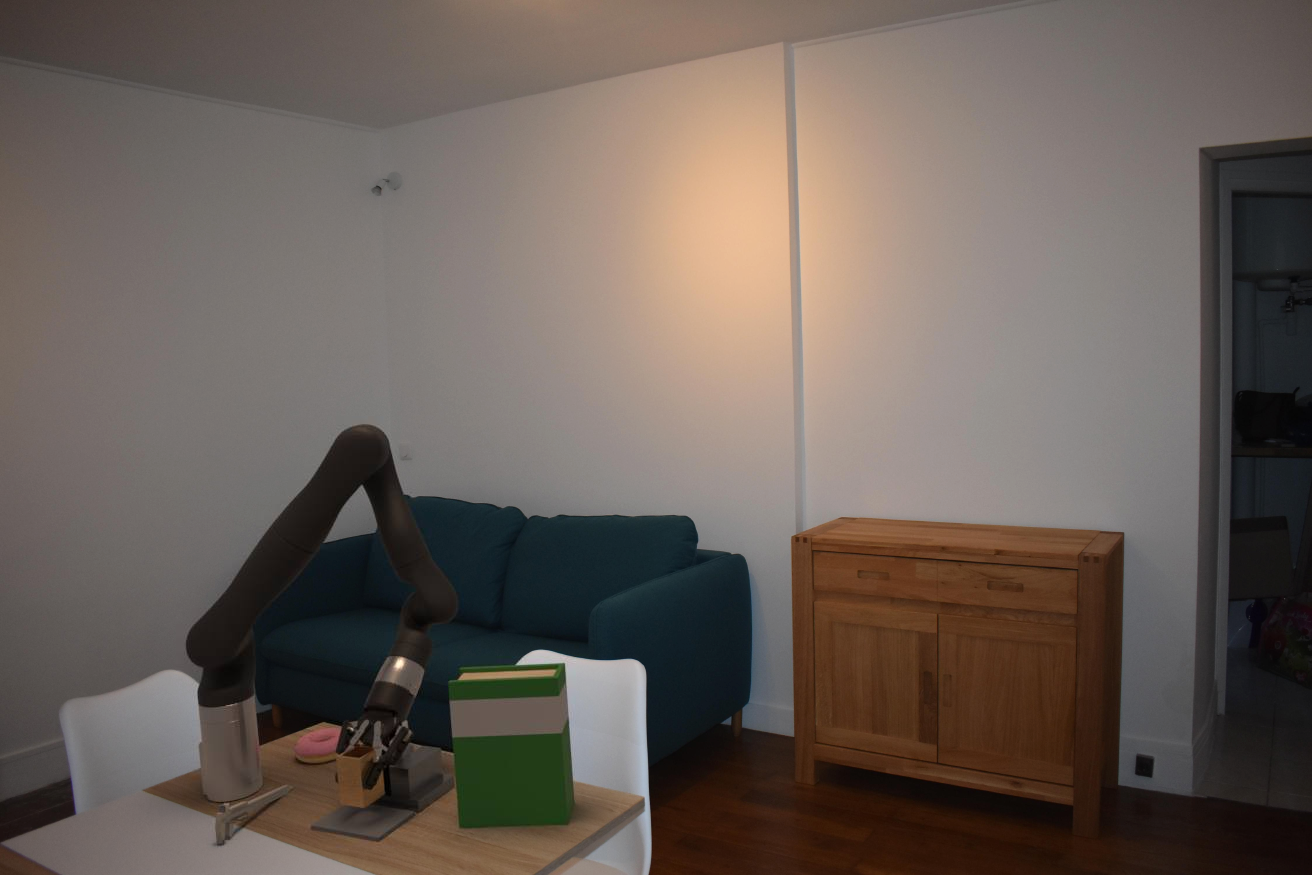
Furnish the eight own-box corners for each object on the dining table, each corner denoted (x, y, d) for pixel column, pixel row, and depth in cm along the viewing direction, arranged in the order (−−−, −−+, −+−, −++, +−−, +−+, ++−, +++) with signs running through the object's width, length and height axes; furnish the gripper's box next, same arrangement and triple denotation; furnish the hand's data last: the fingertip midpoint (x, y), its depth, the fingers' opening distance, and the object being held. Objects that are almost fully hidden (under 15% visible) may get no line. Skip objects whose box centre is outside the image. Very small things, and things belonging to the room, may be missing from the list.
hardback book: (459, 827, 146) (448, 682, 144) (471, 806, 153) (460, 667, 151) (567, 824, 145) (557, 677, 143) (574, 802, 152) (564, 662, 150)
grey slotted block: (340, 799, 159) (334, 726, 158) (379, 774, 168) (373, 706, 167) (419, 812, 152) (412, 736, 151) (454, 786, 161) (449, 715, 160)
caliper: (223, 847, 145) (219, 809, 144) (216, 847, 145) (213, 808, 144) (294, 789, 165) (291, 755, 164) (288, 789, 165) (285, 755, 164)
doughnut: (320, 770, 172) (318, 748, 172) (282, 761, 178) (281, 740, 178) (365, 748, 182) (363, 728, 181) (328, 740, 187) (326, 720, 187)
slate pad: (311, 828, 148) (310, 825, 148) (349, 803, 157) (349, 800, 157) (378, 841, 143) (378, 837, 143) (415, 814, 151) (414, 811, 151)
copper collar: (340, 803, 148) (335, 756, 148) (361, 790, 153) (357, 744, 152) (364, 807, 146) (359, 759, 146) (384, 793, 151) (380, 747, 150)
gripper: (351, 676, 158) (306, 772, 148) (417, 681, 152) (375, 782, 142) (374, 695, 163) (332, 789, 153) (439, 701, 157) (400, 799, 147)
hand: (353, 785), depth 148 cm, fingers closed on copper collar, 5 cm apart
